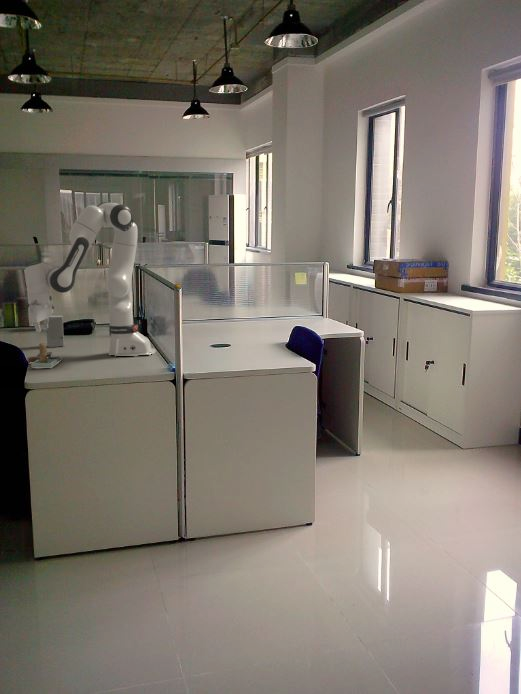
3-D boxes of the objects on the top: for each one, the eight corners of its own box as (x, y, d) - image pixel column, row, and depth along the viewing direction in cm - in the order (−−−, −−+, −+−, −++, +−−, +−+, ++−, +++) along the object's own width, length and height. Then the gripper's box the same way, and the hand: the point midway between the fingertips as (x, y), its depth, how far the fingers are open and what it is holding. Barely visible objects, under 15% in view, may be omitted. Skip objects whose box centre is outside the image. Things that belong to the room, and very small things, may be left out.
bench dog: (43, 362, 311) (43, 356, 310) (41, 364, 308) (41, 357, 307) (30, 362, 311) (30, 356, 311) (28, 364, 308) (28, 357, 308)
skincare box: (47, 348, 345) (44, 317, 342) (48, 345, 352) (45, 315, 349) (64, 346, 348) (62, 316, 344) (64, 344, 354) (62, 314, 351)
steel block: (52, 357, 324) (52, 352, 324) (50, 359, 319) (50, 354, 319) (39, 357, 323) (39, 352, 323) (37, 360, 319) (37, 354, 318)
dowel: (48, 364, 303) (47, 343, 301) (46, 366, 300) (44, 344, 298) (41, 364, 303) (40, 343, 301) (39, 366, 301) (38, 344, 298)
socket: (61, 361, 313) (61, 357, 313) (57, 364, 307) (57, 359, 307) (48, 361, 313) (48, 357, 313) (44, 364, 307) (44, 360, 307)
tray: (57, 364, 306) (57, 359, 305) (51, 368, 298) (51, 363, 297) (37, 365, 306) (37, 359, 306) (31, 369, 298) (31, 363, 298)
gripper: (37, 302, 286) (41, 334, 289) (53, 295, 306) (56, 325, 309) (22, 302, 286) (26, 334, 289) (39, 296, 306) (43, 326, 309)
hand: (42, 330), depth 299 cm, fingers open, 8 cm apart
